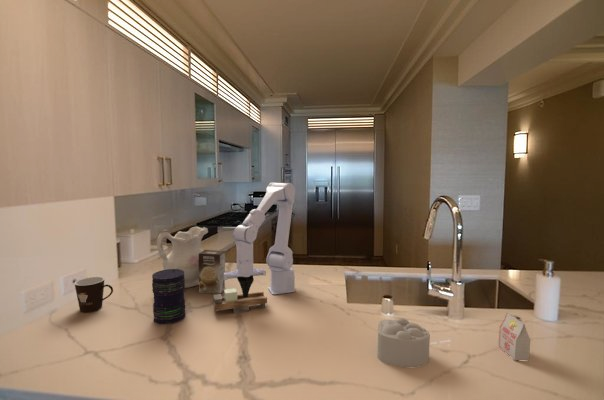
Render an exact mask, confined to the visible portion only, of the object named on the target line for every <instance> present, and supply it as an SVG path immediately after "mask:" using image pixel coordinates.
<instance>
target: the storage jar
mask: <svg viewBox="0 0 604 400" xmlns="http://www.w3.org/2000/svg"><path fill="white" fill-rule="evenodd" d="M151 278H152V281H151V282H152V288H151V290H152V293H153V305H152V308H153V309H152V313H153V322H154V323H155V324H156V325H162V326H163V325H164V326H167V325H173V324H176V323H178V322H181V321H183V320H184V319H185V317H186V299H185V289H186V288H185V279H184V271H183V270H180V269H167V270H164V269H162V270H158V271H156V272H154V273H152V275H151Z"/></svg>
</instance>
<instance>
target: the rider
mask: <svg viewBox="0 0 604 400" xmlns="http://www.w3.org/2000/svg"><path fill="white" fill-rule="evenodd" d="M237 295H238V290H237V288H236V287H234V288H227V289H224V290H223V297H224V300H225V302H232V301H237Z"/></svg>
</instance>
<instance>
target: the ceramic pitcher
mask: <svg viewBox="0 0 604 400" xmlns="http://www.w3.org/2000/svg"><path fill="white" fill-rule="evenodd" d="M208 229H209V228H207V227H200V226H193V227H190V228H189V230H188V231H178V232H176V234H175V235H174V236H173V235H172V234H171V233H170V229H162V230H160V233H159V235H158V236H157V238H156V248H157V251H158V253H159V256H160V258H162V267H163V268H162V270H167V269H180V270H183V271H184V279H185V289H188V288H189V289H190V288H192V287H195V286H199V253H200V252H202V251H203V250H204V249H203V248H202V247H201V244H202V239H203V237H204V235H206V234H208V233H209V230H208ZM165 239H167V240H169V241H170V242H171V246H172V248H171V249H172V250H171V251H170V252H169V253H168V254H167V255H166V252H165V250H164V248H163V241H164V240H165Z"/></svg>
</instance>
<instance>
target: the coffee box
mask: <svg viewBox="0 0 604 400" xmlns="http://www.w3.org/2000/svg"><path fill="white" fill-rule="evenodd" d="M202 250H203V251H202V252H200V253H199V285H198V293H203V294H214V295H217V294H221V293H222V292H224V290H225V288H226V280H224V273H226V251H225V250H216V249H214V250H213V249H202Z"/></svg>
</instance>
